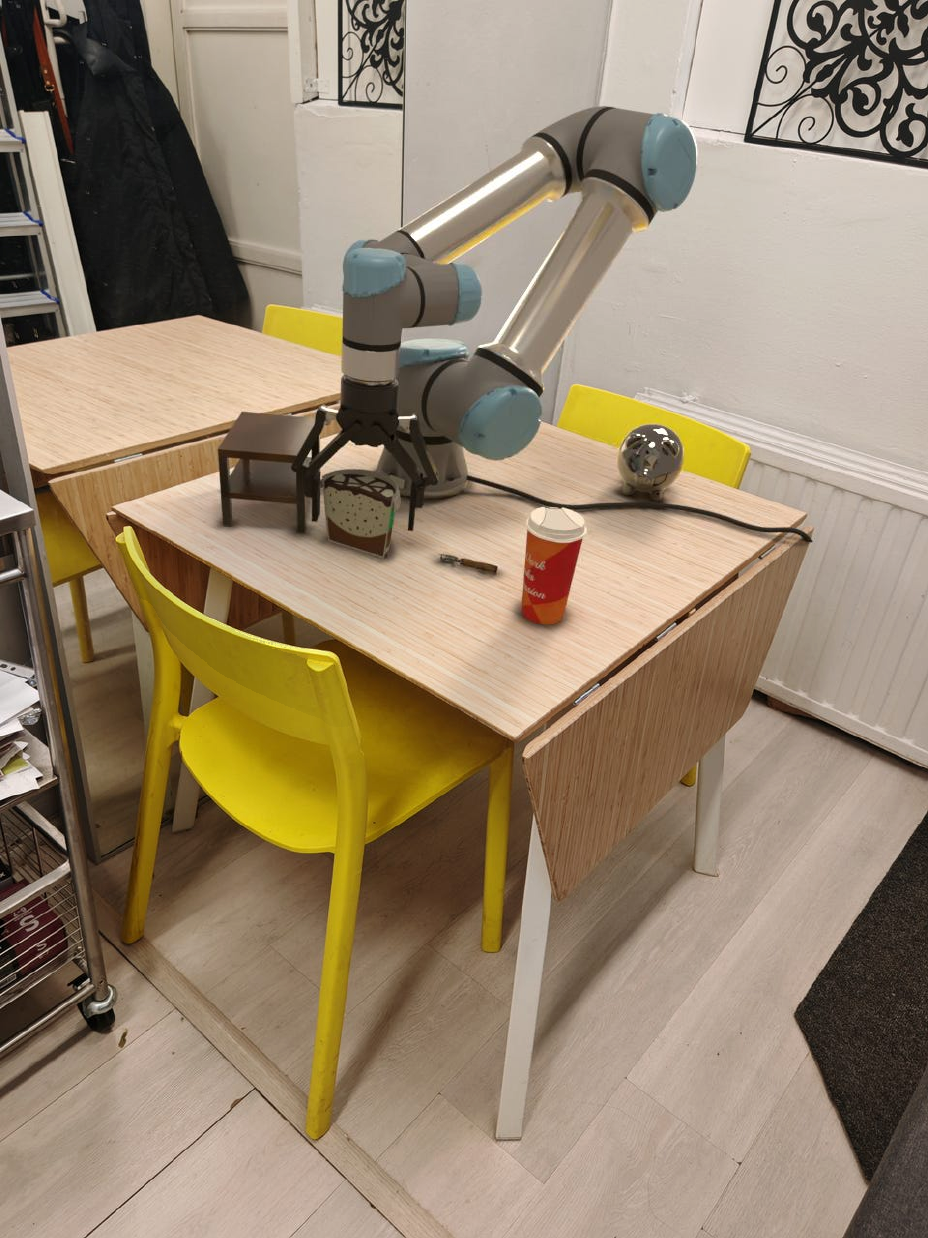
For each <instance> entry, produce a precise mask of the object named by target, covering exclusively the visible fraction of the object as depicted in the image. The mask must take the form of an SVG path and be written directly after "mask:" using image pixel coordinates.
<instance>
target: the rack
mask: <svg viewBox="0 0 928 1238" xmlns="http://www.w3.org/2000/svg"><path fill="white" fill-rule="evenodd" d="M315 418H316V417H308V416H296V415H287V414H286V415H285V414H274V413H262V412H251V411H241V412H240V413H239V415H238V417H237V418H236V420H235V421H234V423H233V424H232V426H231V427H230V429H229V431H228V432H227V434H226V435H225V437H224V439H223V440H222V442H221V443H220V444H219V446H218V448H217V456H218V458H217V459H218V475H219V488H220V503H221V517H222V519H221V520H222V526H223V527H231V528H232V527H233V526H232V525H233V524H234V521H233V504H232V503H233V502H232V500H241V501H251V502H252V501H254V502H263V503H264V502H267V503H278V504H291V505H296V532H297V533H303V534H305V533H306V531H307V500H308V497H306V496H305V494H304V488H305V478H304V475H303V474H301V473H299V472H293V471H292V470H291V466H292V464H293V461H294V459H295V457H296V456H297V454H298V452H299V450H300V449H301V447H302V445H303V443H304V442H305V440H306V438H307V436H308V434H309V433H310V431H311V429H312V427H313V426H314V424H315ZM320 452H321V434H320V435H319V437H318V439H317V440H316V442H315V444H314V446H313V447H312V449H311V451H310V454H311V456H307V458H306V460H305V461H304V462H307V463H308V462H309V463H310V462H311V461H312V460H313V459H314V458H315V457H316V456H317V455H318V454H319V453H320ZM230 459H236V460H237V459H238V461H237V462H236V463H235V466H234V467H233V469H232V471H231V468H230ZM317 472H321V468H320V469H319V470H318V471H317Z"/></svg>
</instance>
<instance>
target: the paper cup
mask: <svg viewBox="0 0 928 1238" xmlns="http://www.w3.org/2000/svg"><path fill="white" fill-rule="evenodd" d="M585 524H586V521H585V519H584V517H583V516H582V514H580V513H578V512H577V511H576V510H570V509H566V508H561V509H558V507H546V506H541V507H537V508H535V509H533V510H532V511H531V512H530V514H529V516H528V517H527V519H526V521H525V523H524V525H525V528H526V540H525V543H526V544H525V554H524V567H523V568H524V569H523V579H522V591H521V592H522V594H521V614H522V616H523V617H524V618H525V619H526V620H528V621H530V622H532V623H535V624H538V625H544V626H545V625H546V626H547V625H554V624H557V623H559V622H561V621H562V620H563V618H564V615H565V611H566V607H567V604H568V600H569V596H570V592H571V588H572V584H573V579H574V576H575V571H576V568H577V564H578V560H579V556H580V551H581V547H582V543H583V539H584V538H585V537H586V535H587V532H588V531H587V526H586V525H585Z"/></svg>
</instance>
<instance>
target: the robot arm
mask: <svg viewBox="0 0 928 1238" xmlns="http://www.w3.org/2000/svg"><path fill="white" fill-rule="evenodd" d="M519 151H520V152H518V153H517V154H515V155H513V156H512V157H511V158H509V159H507V160H506V161H505V162H502V163H501V164H499V165H498V166H496V167H494V168H493V169H492V170H490V171H489V172H487V173H485V174H484V175H482V176H481V177H479V178H477V179H476V180H474V181H473V182H471V183H470V184H468V185H467V186H465V187H463V188H462V189H460V190H459V191H457V192H456V193H454V194H452V195H451V196H449V197H447V198H445V200H443V201H441V202H439V203H438V204H437V205H435V206H433V207H432V208H430V209H428V211H426V212H424V213H422V214H421V215H419V216H418V217H416V218H415V219H413V220H411V221H410V222H408V223H406V224H405V225H403V226H402V227H400V228H399V229H398V230H396V231H394V232H393V233H391V234H390V235H388V236H386V237H384V238H383V239H381V240H378V239H375V238H374V239H373V238H370V239H369V238H362V239H357V240H356V241H355V242H352V244H351V245H350V246H349V247H348V248H347V250H346V252H345V253H344V256H343V262H342V273H343V281H342V285H341V287H342V299H343V300H342V335H341V336H342V338H341V339H342V340H341V361H340V362H341V363H340V364H341V366H340V367H341V368H340V370H341V373H342V374H343V375H342V376H341V378H340V399H339V401H340V403H339V408H338V410H337V409H333V408H328V406H327V405H326V404H323V403H321V404H319V406H318V408H317V410H316V413H315V417H314V418H315V424H314V426H313V427H312V429H311V431H310V433H309V434H308V436H307V438H306V440H305V442H304V443H303V445H302V447H301V449H300V450H299V452H298V454H297V456H296V457H295V459H294V461H293V464H292V466H291V470H292V471H293V472H299V473H301V474H303V475H304V478H305V488H304V494H305V496H306V497H307V499H308V498H309V499H311V522H313V523H318V521H319V518H320V515H321V488H319V485H320V480H321V471H320V472H317V471H318V470H319V469H320V470H321V469H322V467H324V465H326V464H327V463H328V462H329V461H330V460H331V459H332V458H333V457H334V456H335V455H336V454H337V453H338V452H339V451H340V450H341V449H342V448H344V447H345V446H346V445H347V444H348V443H349V442H351V443H352V444H354V445H355V446H368V447H372V448H378V447H380V446H382V445H383V449H382V451H381V454H380V456H379V459H378V462H377V466H376V472H378V473H381V474H383V475H386V476H388V477H390V478H391V479H392V480H394V481H395V482H396V484H397V486H398V489H399V491H400V496H403V497H407V498H409V506H408V519H407V531H408V532H414V527H415V515H416V509H423V507H424V502H425V500H436V499H444V498H445V499H446V498H449V497H453V496H455V495H457V494H460V493H462V492H463V491H464V490H465V489H466V488H467V486H468V481H469V482H472V483H476V484H480V485H482V486H486V487H490V488H492V489H497V490H500V491H504V492H506V493H509V494H512V495H516V496H519V497H522V498H524V499H527V500H528V501H531V502H534V503H535V504H538V505H542V506H544V507H547V508H549V507H558V509H561V508H566V509H570V510H572V511H582V510H583V511H584V510H594V509H595V510H596V509H612V508H613V509H615V508H619V509H620V508H658V509H666V510H667V509H669V510H675V511H681V512H682V511H683V512H689V513H694V514H698V515H703V516H706V517H710V518H713V519H717V520H721V521H723V522H726V523H729V524H732V525H734V526H737V527H740V528H744V529H746V530H749V531H750V530H751V531H754V532H758V533H771V534H772V533H777V534H778V533H787V534H788V533H789V534H795V535H798V536H800V537H801V538H803V540H805V542H807V543H813V542H814V541H813V540H812V538H811V536H810V535H809V534H808V533H806V532H805V531H803V530H801V529H799V528H796V527H789V526H785V527H784V526H779V527H778V526H777V527H772V526H771V527H767V526H758V525H754V524H751V523H747V522H744V521H741V520H738V519H735V518H732V517H730V516H727V515H725V514H721V513H718V512H714V511H711V510H707V509H702V508H698V507H694V506H689V505H683V504H675V503H667V502H657V501H656V502H654V501H623V502H621V501H620V502H619V501H618V502H593V503H585V504H584V503H582V504H567V503H558V502H553V501H549V500H545V499H544V498H543V499H542V498H539V497H537V496H534V495H532V494H530V493H528V492H525V491H523V490H519V489H516V488H513V487H510V486H506V485H505V484H504V485H503V484H501V483H497V482H494V481H490V480H487V479H484V478H480V477H476V476H472V475H469V471H468V465H467V462H466V461H467V460H466V457H465V453H464V450H466V451H467V452H468V453H470V454H472V455H477V456H479V457H482V458H483V459H486V460H490V461H503V460H505V459H508V458H512V457H514V456H517V455H518V454H520V453H521V452H522V451H524V450H525V448H527V447H528V446H529V445H530V443H531V442H532V441H533V440H534V439H535V437H536V435H537V433H538V431H539V429H540V427H541V424H542V419H541V418H540V417H541V416H542V415H543V405H542V401H541V399H540V398H541V397H542V394H544V391H545V386H544V385H545V384H544V380H543V374H544V372H545V371H546V370H547V367H548V366H549V364H550V363H551V361H552V360H553V358H554V356H555V355H556V353H557V352H558V350H559V348H560V347H561V346H562V344H563V342H564V341H565V339H566V337H567V336H568V335H569V333H570V331H571V330H572V328H573V327H574V325H575V323H576V322H577V320H578V319H579V317H580V316H581V314H582V313H583V311H584V309H585V307H586V306H587V305H588V303H589V301H590V299H592V296H593V295H594V293H595V292H596V290H597V288H598V287H599V286H600V284H601V282H602V281H603V279H604V278H605V276H606V274H607V273H608V271H609V269H610V268H611V266H612V265H613V263H614V261H615V260H616V259H617V257H618V256H619V253H620V252H621V251H622V249H623V247H624V246H625V244H627V243H626V242H627V241H628V239H629V238H630V236H631V235H633V234H637V233H642V232H644V231H646V230H647V229H648V228H649V226H650V224H651V223H652V221H653V220H654V218H655V217H656V215H657V213H658V212H662V213H664V212H671V211H673V210H676V209H677V208H679V207H680V206H682V204H683V203H684V202H685V201H686V200H687V198H688V196H689V195H690V192H691V191H692V187H693V185H694V182H695V178H696V173H697V169H698V168H697V167H698V164H697V161H698V147H697V142H696V138H695V135H694V133H693V131H692V129H691V128H690V126H689V125H688V124H687V123H686V122H685V121H683V120H682V119H680V118H677V117H673V116H670V115H669V116H668V115H666V114H665V113H662V112H657V113H649V112H642V111H636V110H631V109H625V108H617V107H614V106H608V105H601V106H600V105H599V106H592V107H588V108H586V109H585V108H584V109H582V110H580V111H576V112H574V113H572V114H569V115H567V116H565V117H563V118H561V119H559V120H557V121H555V122H553V123H551V124H550V125H547V126H546V127H545V128H543V129H541V130H539V131H538V132H536V133H534V134H533V135H532V136H530V137H528V138H526V139H525V140H524V141H523V143H522V145H521V147H520V150H519ZM575 193H580V196H581V201H580V203H578V204H579V205H578V206H577V208H576V210H575V211H574V213H573V214H572V216H571V217H570V219H569V220H568V222H567V223H566V225H565V227H564V228H563V230H562V232H561V233H560V235H559V236H558V238H557V240H556V241H555V243H554V244H553V246H552V248H551V250H550V251H549V252H548V254H547V256H546V257H545V259H544V261H543V262H542V264H541V265H540V266H539V269H538V270H537V272H536V273H535V275H534V276H533V278H532V280H531V281H530V283H529V285H528V286H527V288H526V290H525V291H524V292H523V294H522V295H521V296H520V299H519V300H518V302H517V304H516V305H515V307H514V309H513V310H512V312H511V313H510V315H509V317H508V318H507V320H506V321H505V323H504V324H503V326H502V328H501V330H500V331H499V333H498V334H497V336H496V338H495V339H494V341H492V342H490V343H485V344H481V345H478V346H477V348H476V350H475V352H474V353H473V354H472V356H471V358H470V360H469V361H468V358H469V357H470V352H469V348H468V345H467V344H466V343H465V342H462V341H460V340H455V339H448V338H447V339H446V338H418V339H409V340H406V341H403V342H402V334H403V330H404V329H414V328H424V327H427V328H428V327H439V326H448V327H449V326H454V325H456V324H462V323H466V322H467V323H468V322H470V321H472V320H473V319H474V318H475V317H476V316H477V314H478V313H479V311H480V308H481V305H482V295H483V288H482V283H481V279H480V277H479V275H478V273H477V271H476V270H475V269H474V268H473V267H472V266H470V265H468V264H465V263H454V262H453V261H454V260H456V259H458V258H459V257H461V256H462V255H464V254H465V253H467V252H468V251H470V250H471V249H473V248H475V247H476V246H477V245H479V244H480V243H482V242H483V241H485V240H486V239H488V238H489V237H491V236H493V235H494V234H496V233H497V232H499V231H500V230H502V229H503V228H505V227H506V226H508V225H510V224H511V223H512V222H514V221H515V220H517V219H519V218H520V217H521V216H523V215H525V214H526V213H527V212H529V211H531V210H533V209H534V208H535V207H537V206H538V205H540V204H541V203H543V202H547V203H555V202H557V201H559V200H560V199H562V198H563V197H565V196H567V195H569V194H575ZM334 420H335V421H336V423H337V424H338V425H339V427H340V429H341V430H340V431H339V432H338V433H337V434H336V435H335V437H334V438H332V440H331V441H330V442H329V443H327V445H326V446H325V447H324V448H323V449H322V450H320V453H319V454H318V455H317V456H316V457H315V458H314V459H313V460H312V461H311V462H310V463H309V462H308V463H307V462H304V461H305V460H306V458H307V457H309V455H310V454H311V449H312V447H313V446H314V444H315V442H316V440H317V439H318V437H319V435H320V436H321V433H322V431H323V430H324V427H325V426H329V425H331V423H332V421H334Z"/></svg>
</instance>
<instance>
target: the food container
mask: <svg viewBox="0 0 928 1238" xmlns="http://www.w3.org/2000/svg"><path fill="white" fill-rule="evenodd" d="M319 488H320V489H322V495H323V504H324V517H325V526H326V538H327V542H329V543H331V544H332V543H333V544H336V545H339V546H342V547H345V548H347V549H351V550H355V551H358V552H360V553H364V554H367V555H371V556H374V557H376V558H380V559H383V560H385V559H386V558H387V556H388V555H389V551H390V546H391V540H392V533H393V526H394V521H395V513H396V511H398V510H399V508H400V507H401V505H402V504H401V503H402V497H401V495H400V491H399V489H398V486H397V484H396V482H395V481H394V480H392V479H391V478H390V477H388V476H386V475H383V474H381V473H378V472H377V471H373V470H368V469H359V468H358V469H356V468H354V469H353V468H350V469H349V468H348V469H347V468H346V469H338V470H334V471H330V472H327V473H324V474H323V475H321V478H320V485H319Z"/></svg>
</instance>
